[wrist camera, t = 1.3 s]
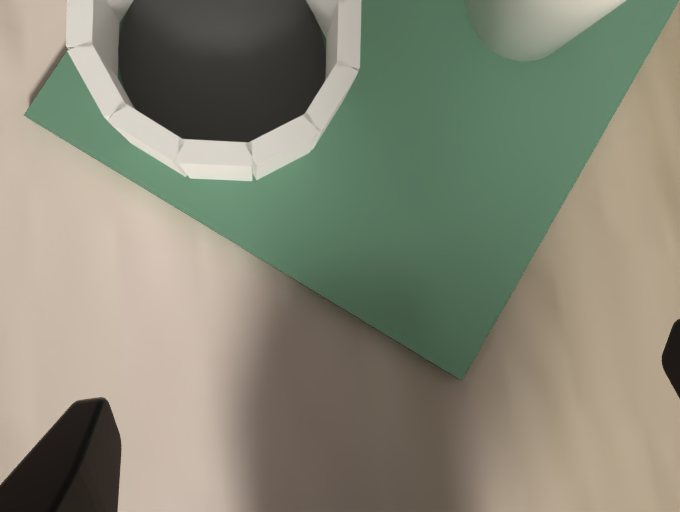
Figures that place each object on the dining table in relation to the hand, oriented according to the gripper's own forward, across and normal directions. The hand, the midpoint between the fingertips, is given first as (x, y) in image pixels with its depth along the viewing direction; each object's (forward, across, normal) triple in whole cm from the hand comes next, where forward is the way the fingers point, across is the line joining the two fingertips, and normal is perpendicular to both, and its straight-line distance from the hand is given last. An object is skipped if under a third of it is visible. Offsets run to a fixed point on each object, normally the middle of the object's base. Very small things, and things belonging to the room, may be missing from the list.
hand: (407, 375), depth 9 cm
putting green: (+18, -4, -1) cm, 18 cm away
